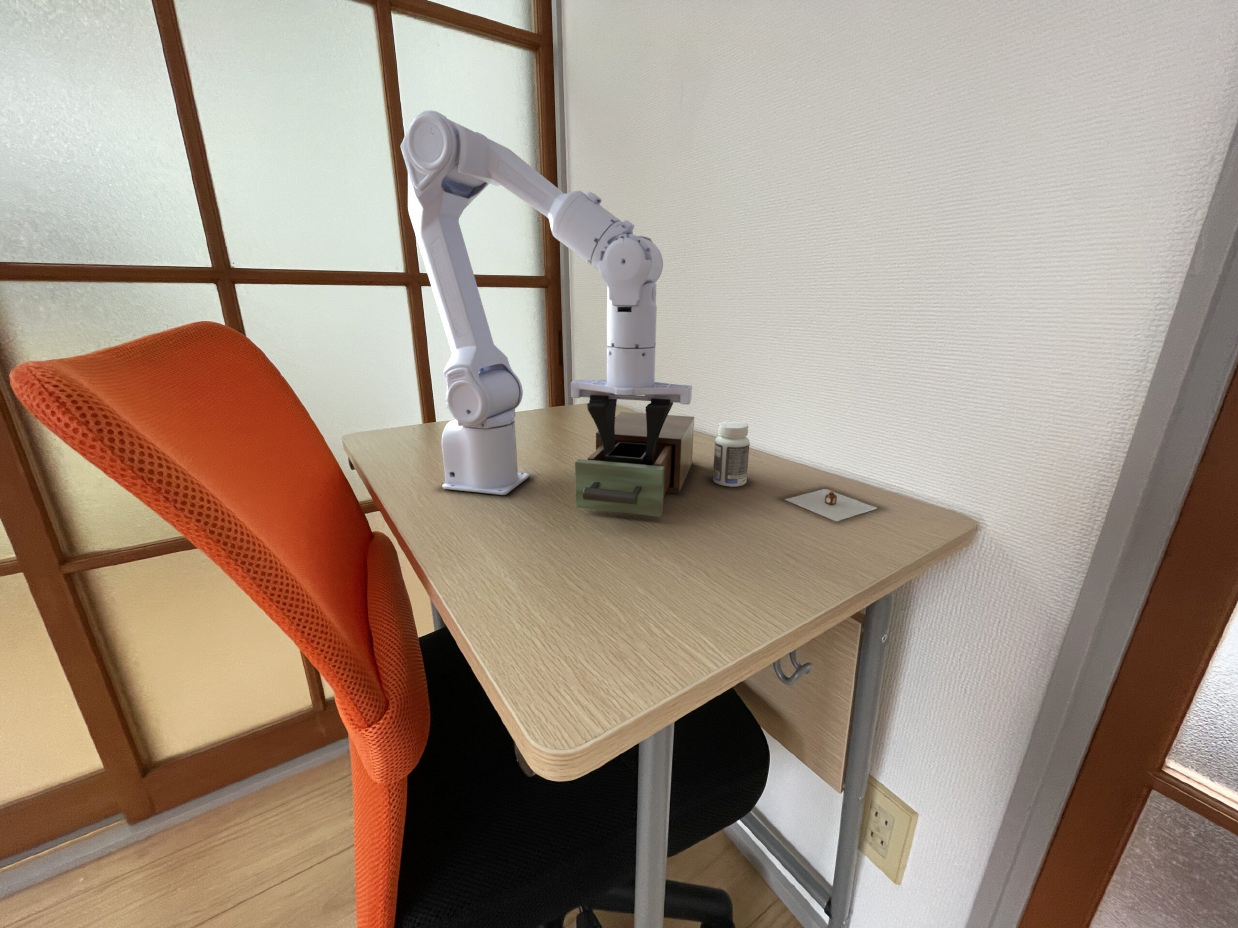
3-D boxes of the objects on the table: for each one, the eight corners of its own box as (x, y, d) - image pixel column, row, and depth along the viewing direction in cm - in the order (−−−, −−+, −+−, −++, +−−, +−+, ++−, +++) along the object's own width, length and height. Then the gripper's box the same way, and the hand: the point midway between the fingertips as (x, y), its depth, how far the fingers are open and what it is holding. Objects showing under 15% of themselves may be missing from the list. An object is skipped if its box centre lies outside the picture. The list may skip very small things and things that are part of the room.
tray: (604, 476, 64) (604, 455, 63) (618, 460, 70) (618, 441, 69) (641, 479, 63) (642, 458, 62) (652, 463, 69) (653, 444, 68)
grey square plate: (878, 508, 66) (880, 494, 66) (836, 521, 62) (838, 506, 62) (824, 488, 73) (826, 475, 72) (784, 499, 69) (785, 486, 68)
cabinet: (679, 494, 70) (681, 439, 68) (596, 485, 73) (595, 432, 71) (692, 463, 83) (694, 416, 81) (620, 457, 86) (621, 411, 83)
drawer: (654, 531, 57) (655, 481, 56) (564, 520, 60) (563, 472, 58) (677, 481, 72) (679, 441, 71) (604, 474, 75) (604, 435, 73)
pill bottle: (751, 480, 76) (756, 423, 73) (739, 489, 72) (744, 430, 69) (720, 474, 78) (723, 418, 76) (707, 483, 74) (710, 425, 72)
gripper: (560, 347, 60) (563, 461, 64) (688, 352, 56) (682, 472, 60) (580, 342, 66) (582, 446, 70) (696, 346, 63) (690, 454, 67)
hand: (629, 457), depth 66 cm, fingers closed on tray, 4 cm apart
